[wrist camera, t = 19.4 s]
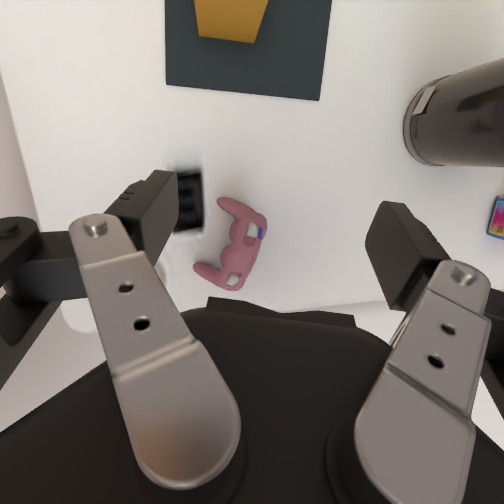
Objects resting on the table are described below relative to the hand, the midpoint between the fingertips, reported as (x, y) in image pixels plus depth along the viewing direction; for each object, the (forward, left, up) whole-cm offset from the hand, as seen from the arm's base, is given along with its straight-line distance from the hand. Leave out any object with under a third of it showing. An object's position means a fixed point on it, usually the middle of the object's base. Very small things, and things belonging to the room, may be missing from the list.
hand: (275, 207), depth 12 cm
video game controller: (+1, +8, -23) cm, 24 cm away
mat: (0, -15, -23) cm, 27 cm away
